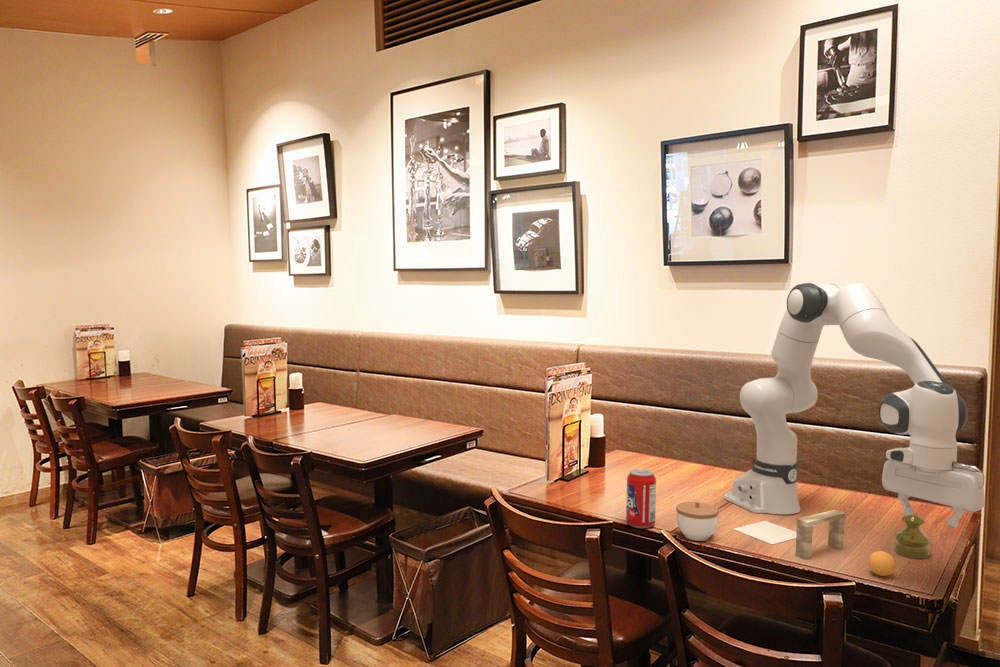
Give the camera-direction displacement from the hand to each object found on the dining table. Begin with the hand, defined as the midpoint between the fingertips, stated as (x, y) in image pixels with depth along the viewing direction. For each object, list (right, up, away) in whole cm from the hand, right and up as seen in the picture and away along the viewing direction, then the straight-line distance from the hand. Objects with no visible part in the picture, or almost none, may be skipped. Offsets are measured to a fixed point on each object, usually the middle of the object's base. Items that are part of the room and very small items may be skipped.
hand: (929, 520), depth 158 cm
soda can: (-55, -12, +42) cm, 70 cm away
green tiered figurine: (+9, -14, +23) cm, 29 cm away
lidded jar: (-42, -13, +34) cm, 55 cm away
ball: (-5, -12, +10) cm, 17 cm away
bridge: (-13, -14, +24) cm, 31 cm away
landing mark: (-21, -13, +37) cm, 45 cm away
